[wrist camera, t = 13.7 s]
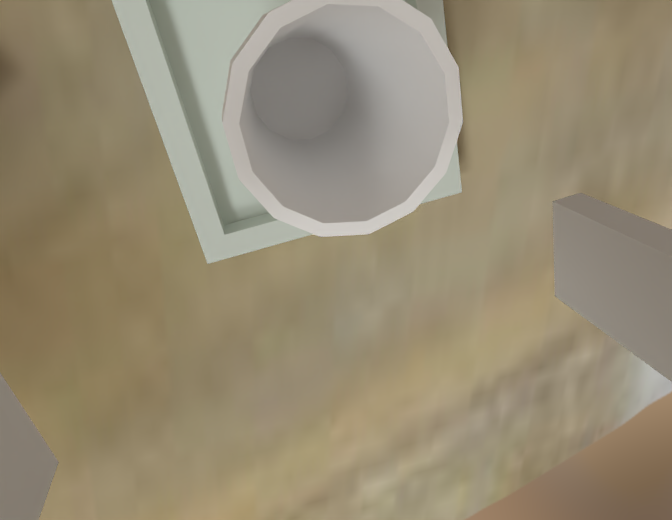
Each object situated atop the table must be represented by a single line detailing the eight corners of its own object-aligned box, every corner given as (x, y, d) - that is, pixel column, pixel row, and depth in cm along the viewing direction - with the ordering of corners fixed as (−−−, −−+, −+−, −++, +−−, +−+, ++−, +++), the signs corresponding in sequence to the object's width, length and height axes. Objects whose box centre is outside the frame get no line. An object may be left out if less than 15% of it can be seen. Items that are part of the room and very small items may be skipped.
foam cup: (224, 166, 32) (229, 241, 20) (213, 1, 28) (213, -22, 16) (368, 162, 34) (449, 229, 22) (377, 8, 30) (479, -8, 18)
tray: (208, 246, 35) (207, 264, 32) (105, -42, 27) (93, -51, 24) (443, 180, 37) (461, 192, 34) (410, -107, 29) (430, -121, 26)
